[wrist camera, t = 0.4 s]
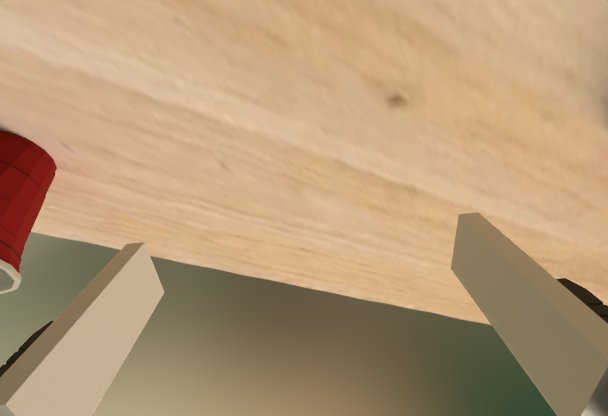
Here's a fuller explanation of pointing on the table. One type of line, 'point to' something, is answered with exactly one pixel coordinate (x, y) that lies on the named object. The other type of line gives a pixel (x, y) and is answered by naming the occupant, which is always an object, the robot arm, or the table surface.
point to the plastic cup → (19, 200)
